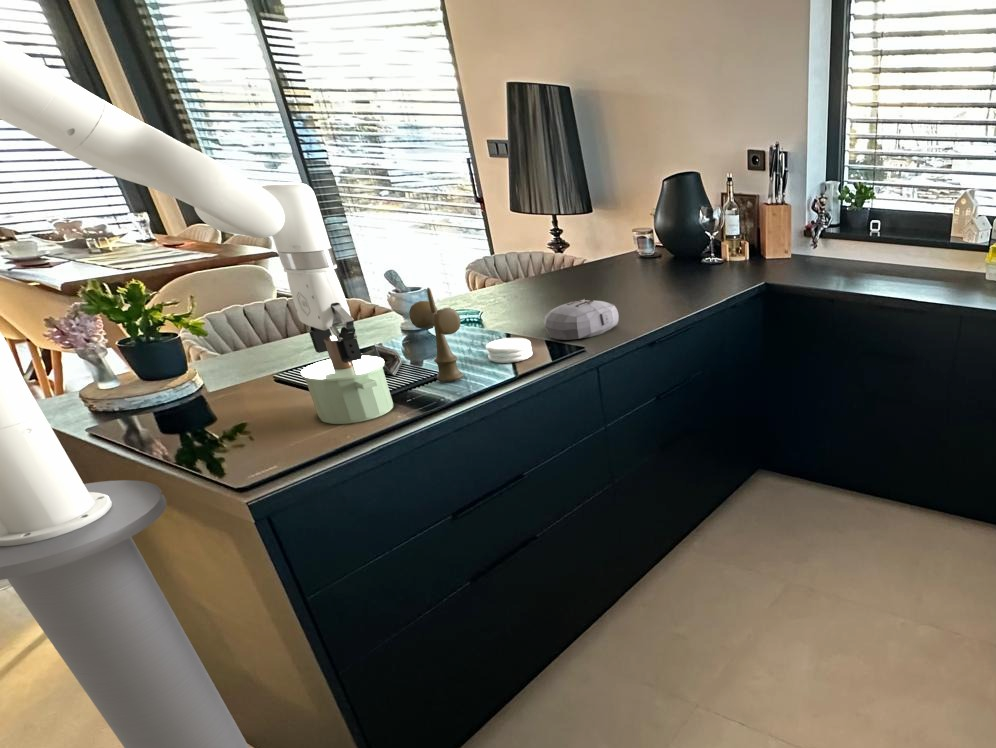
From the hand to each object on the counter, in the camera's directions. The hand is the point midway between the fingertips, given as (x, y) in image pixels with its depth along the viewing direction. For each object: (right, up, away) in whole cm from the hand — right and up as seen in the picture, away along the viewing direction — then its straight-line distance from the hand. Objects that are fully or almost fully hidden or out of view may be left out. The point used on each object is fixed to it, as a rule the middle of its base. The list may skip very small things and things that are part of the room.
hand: (339, 355), depth 115 cm
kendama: (+9, -2, +21) cm, 23 cm away
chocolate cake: (-10, 0, +25) cm, 27 cm away
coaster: (+15, +5, +36) cm, 39 cm away
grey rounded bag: (+26, +15, +55) cm, 63 cm away
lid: (0, -2, +1) cm, 3 cm away
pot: (0, -10, +5) cm, 11 cm away
